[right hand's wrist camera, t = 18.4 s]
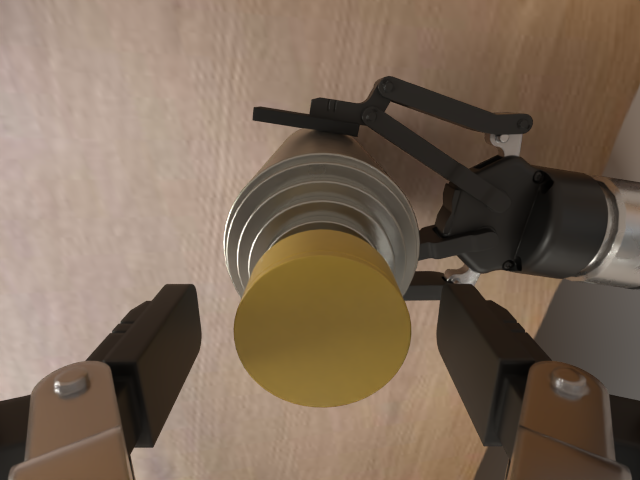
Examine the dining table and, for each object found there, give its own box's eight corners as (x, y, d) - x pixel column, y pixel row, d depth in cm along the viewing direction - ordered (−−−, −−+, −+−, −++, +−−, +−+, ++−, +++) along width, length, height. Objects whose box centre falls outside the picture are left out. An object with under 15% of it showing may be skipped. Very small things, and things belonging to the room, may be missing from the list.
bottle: (257, 188, 33) (128, 367, 11) (304, 105, 30) (263, 114, 8) (335, 234, 34) (363, 474, 12) (386, 157, 32) (533, 282, 10)
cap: (349, 382, 13) (355, 430, 11) (223, 325, 12) (205, 367, 10) (426, 271, 11) (447, 305, 9) (288, 201, 11) (282, 222, 9)
